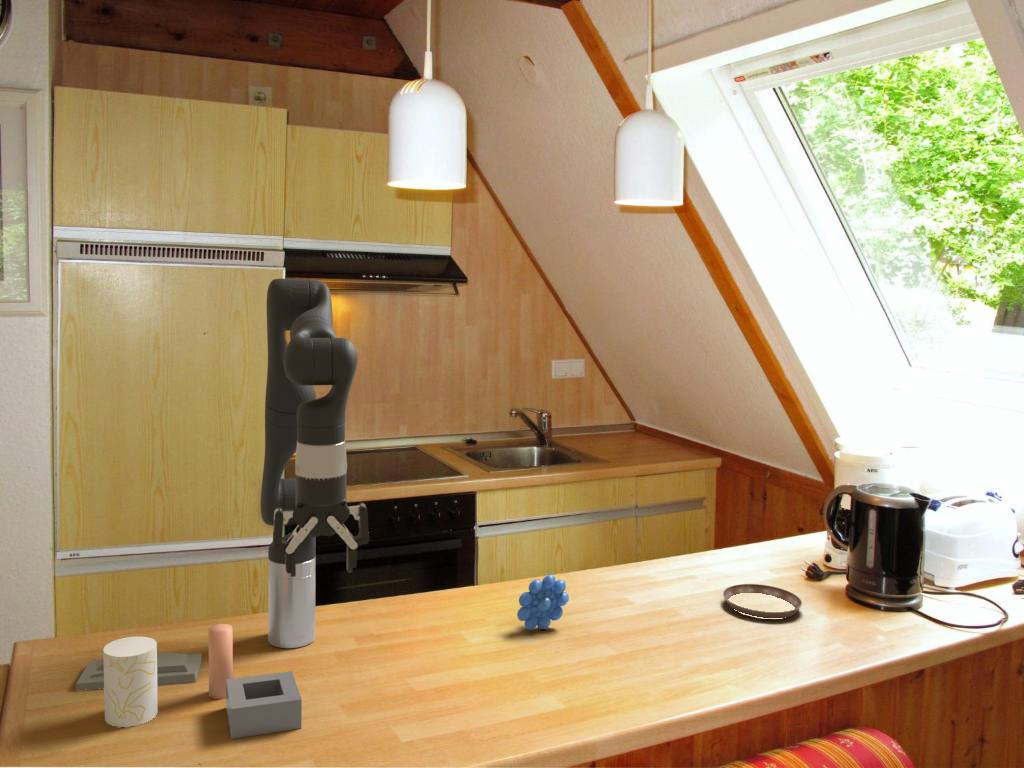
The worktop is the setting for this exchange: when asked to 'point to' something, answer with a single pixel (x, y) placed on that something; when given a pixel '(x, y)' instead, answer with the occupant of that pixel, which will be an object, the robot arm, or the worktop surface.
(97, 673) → the soap mold
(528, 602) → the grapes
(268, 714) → the socket block
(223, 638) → the peg
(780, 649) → the worktop surface
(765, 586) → the dark grey ring
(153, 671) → the white patterned cylinder
